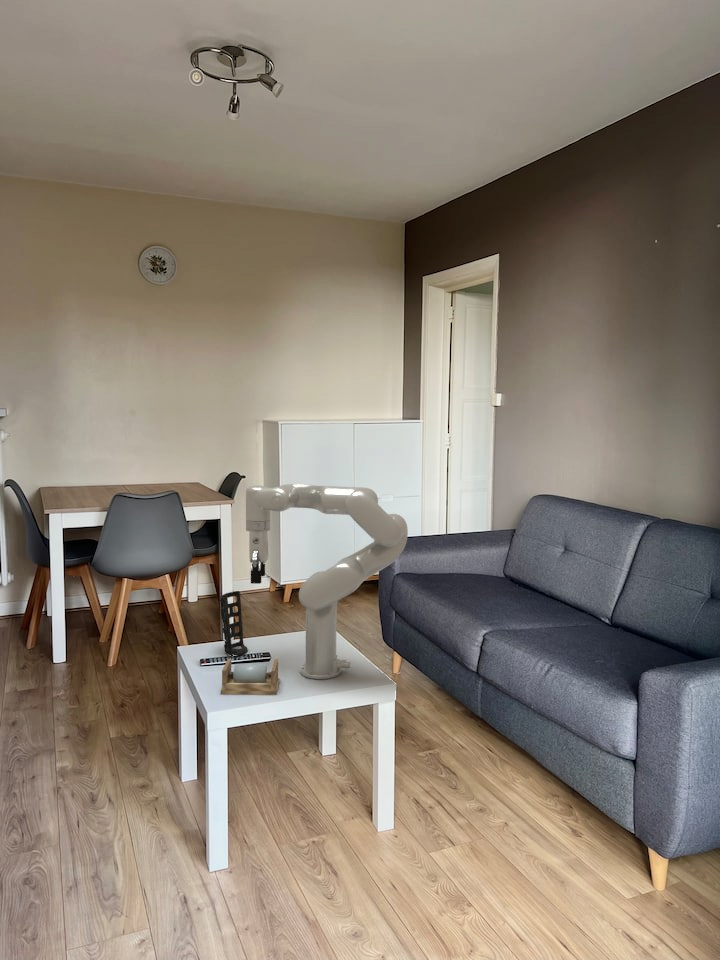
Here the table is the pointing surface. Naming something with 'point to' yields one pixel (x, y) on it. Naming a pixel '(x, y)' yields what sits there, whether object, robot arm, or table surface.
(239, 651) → the holder
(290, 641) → the table surface
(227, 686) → the cradle
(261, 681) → the roll
